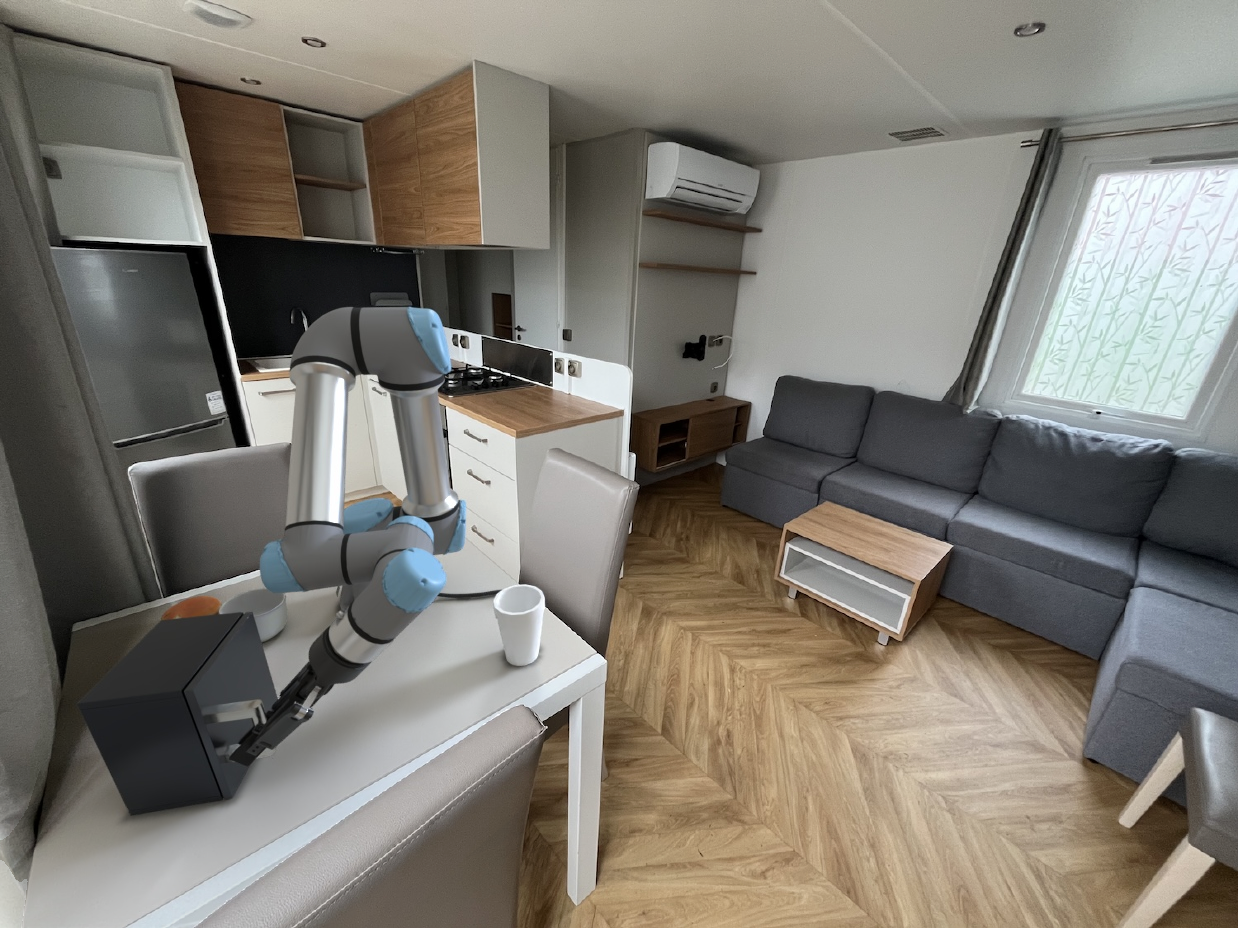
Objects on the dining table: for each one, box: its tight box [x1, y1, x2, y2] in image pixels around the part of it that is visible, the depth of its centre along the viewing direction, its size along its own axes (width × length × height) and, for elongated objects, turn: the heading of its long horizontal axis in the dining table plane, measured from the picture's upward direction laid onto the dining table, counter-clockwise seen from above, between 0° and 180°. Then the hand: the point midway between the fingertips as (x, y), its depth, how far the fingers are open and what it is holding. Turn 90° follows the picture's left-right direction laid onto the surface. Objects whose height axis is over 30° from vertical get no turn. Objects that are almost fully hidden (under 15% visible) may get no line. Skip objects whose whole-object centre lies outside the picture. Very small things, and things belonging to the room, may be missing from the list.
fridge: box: [76, 612, 244, 817], centre depth 72 cm, size 11×16×20 cm
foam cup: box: [492, 583, 546, 667], centre depth 95 cm, size 10×9×13 cm
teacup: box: [219, 587, 289, 643], centre depth 98 cm, size 14×11×8 cm
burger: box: [160, 595, 223, 621], centre depth 103 cm, size 10×9×5 cm
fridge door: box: [184, 612, 279, 800], centre depth 73 cm, size 7×16×20 cm, turn 12°
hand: (244, 752), depth 69 cm, fingers closed on fridge door, 2 cm apart
